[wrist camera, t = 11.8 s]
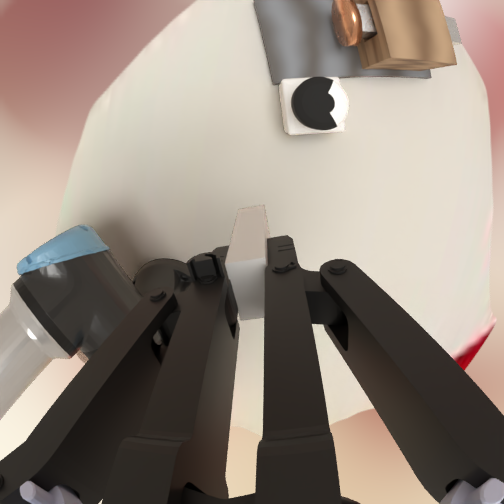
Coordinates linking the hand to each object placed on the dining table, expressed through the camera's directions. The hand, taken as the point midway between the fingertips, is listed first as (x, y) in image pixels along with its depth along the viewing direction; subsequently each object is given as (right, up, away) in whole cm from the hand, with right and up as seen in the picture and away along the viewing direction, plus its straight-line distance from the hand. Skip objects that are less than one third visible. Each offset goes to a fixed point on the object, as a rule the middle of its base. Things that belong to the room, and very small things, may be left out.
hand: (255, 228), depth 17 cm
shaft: (+19, +30, +10) cm, 37 cm away
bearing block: (+14, +30, +14) cm, 36 cm away
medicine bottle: (+7, +19, +20) cm, 29 cm away
